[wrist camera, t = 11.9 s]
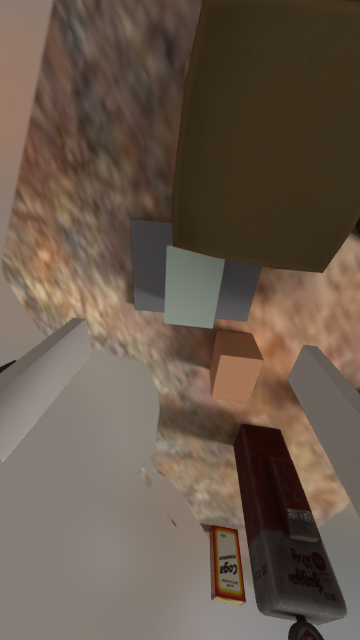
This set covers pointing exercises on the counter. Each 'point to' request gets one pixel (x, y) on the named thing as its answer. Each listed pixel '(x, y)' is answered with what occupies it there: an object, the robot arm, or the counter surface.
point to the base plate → (152, 273)
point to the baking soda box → (226, 566)
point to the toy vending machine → (284, 537)
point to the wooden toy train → (270, 133)
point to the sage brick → (191, 287)
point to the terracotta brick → (234, 366)
